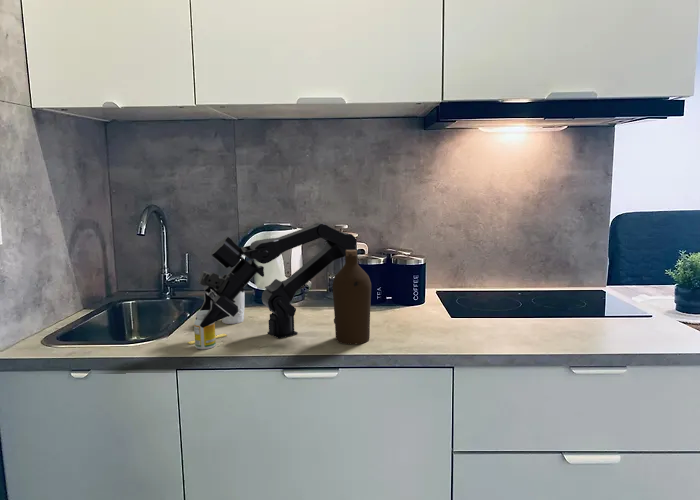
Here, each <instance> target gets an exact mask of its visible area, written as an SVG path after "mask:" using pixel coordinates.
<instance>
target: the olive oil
mask: <svg viewBox="0 0 700 500" xmlns="http://www.w3.org/2000/svg"><path fill="white" fill-rule="evenodd" d="M344 258H345V259H344V260H345V261H344V262H345V264H344V265H343V266H342V268H341V269H340V270H338V271H337V273H336V274H335V275H334V277H333V280H332V281H333V282H332V298H333V299H332V300H333V312H334V313H333V315H334V319H333V324H334V328H335V341H336V342H338V343H340V344H344V345H353V346H354V345H361V344H365V343H367V342H369V340H370V337H371V336H370V335H371V334H370V333H371V332H370V331H371V330H370V328H371V326H370V325H371V306H372V305H371V303H372V302H371V300H372V282H371V279H370V276H369V274H368V273H367V272H366V271H365V270H364V269H363V268H362V267H361V266H360V265H359V263H358V262H359V261H358V260H359V257H358V250H357V249H355V250H346V255H345V257H344Z"/></svg>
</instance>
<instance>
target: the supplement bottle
mask: <svg viewBox="0 0 700 500" xmlns="http://www.w3.org/2000/svg"><path fill="white" fill-rule="evenodd" d="M208 311H209V310H202V311H200V310H198V311H196V312H195V315H196V316H195V320H194V322H193V327H194V328H193V332H194V340H195V344H194V345H195V348H196V349H198V350H208V349H212V348H214V347H215V346H216V339H215V336H216V325H215V323H216V322H214V323H212V324H210V325H208V326H206V327H204V328H202V327H201V326H200V324H201V322H202V320H203V319H204V317H205V316H206V314H207V313H208ZM196 317H197V319H196Z"/></svg>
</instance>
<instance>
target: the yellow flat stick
mask: <svg viewBox="0 0 700 500" xmlns="http://www.w3.org/2000/svg"><path fill="white" fill-rule="evenodd" d="M227 336H228V335H227V334H226V333H221V334H217V335H216V334H215V340H216V339H219V338H225V337H227ZM187 344H189V345H190V346H191V345H195V339H194V340H191V341H188V342H187Z"/></svg>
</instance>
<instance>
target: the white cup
mask: <svg viewBox="0 0 700 500" xmlns="http://www.w3.org/2000/svg"><path fill="white" fill-rule="evenodd" d="M234 301H235V302H234V303H235V304H236V305H237V306H238V312H237V313H236V315H235V316H234V317H233V316H231V315H230V314H229V313H228V314H229V315H230V316H229V317H225V318H223V319H221V322H222V323H223V324H227V325H233V324H240V323H243V322H244V321H245V291H244V292H242V291H241V292H240V293H239V294H238V295H237V296H236V298H235V299H234Z"/></svg>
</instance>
